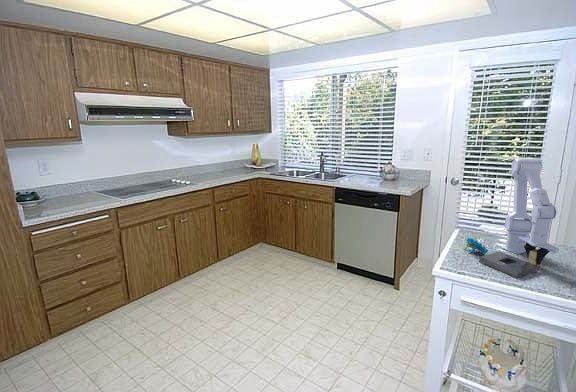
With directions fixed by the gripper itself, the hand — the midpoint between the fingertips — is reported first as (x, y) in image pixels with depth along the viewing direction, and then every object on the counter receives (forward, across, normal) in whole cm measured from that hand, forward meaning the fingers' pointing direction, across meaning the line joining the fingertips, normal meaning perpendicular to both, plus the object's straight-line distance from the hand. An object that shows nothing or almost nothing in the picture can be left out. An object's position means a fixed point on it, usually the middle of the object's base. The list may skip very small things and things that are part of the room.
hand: (534, 262), depth 133 cm
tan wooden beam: (+2, 0, 0) cm, 2 cm away
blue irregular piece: (+2, -20, -9) cm, 22 cm away
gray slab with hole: (+2, -4, -10) cm, 12 cm away
